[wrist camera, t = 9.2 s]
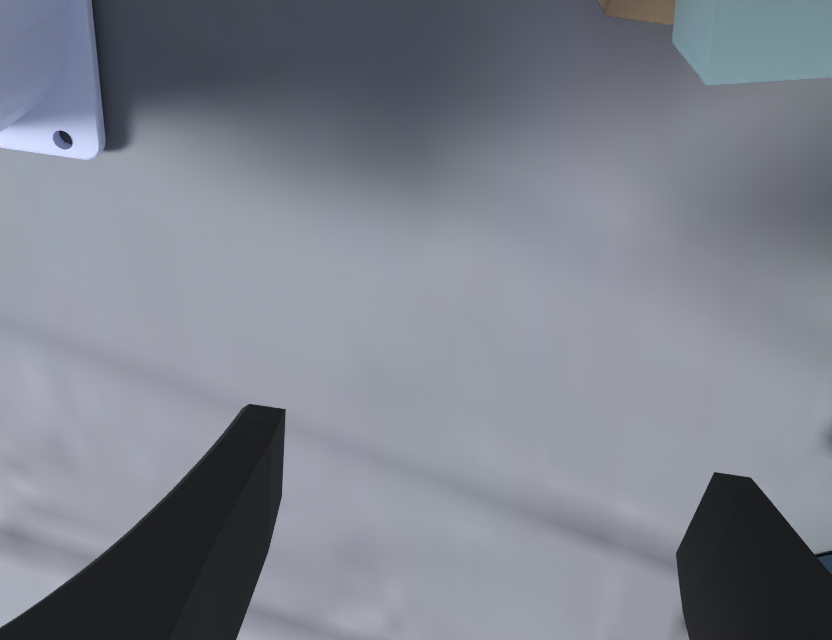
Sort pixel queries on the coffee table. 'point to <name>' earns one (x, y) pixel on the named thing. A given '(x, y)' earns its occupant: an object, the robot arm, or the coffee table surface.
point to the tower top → (754, 39)
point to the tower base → (640, 10)
